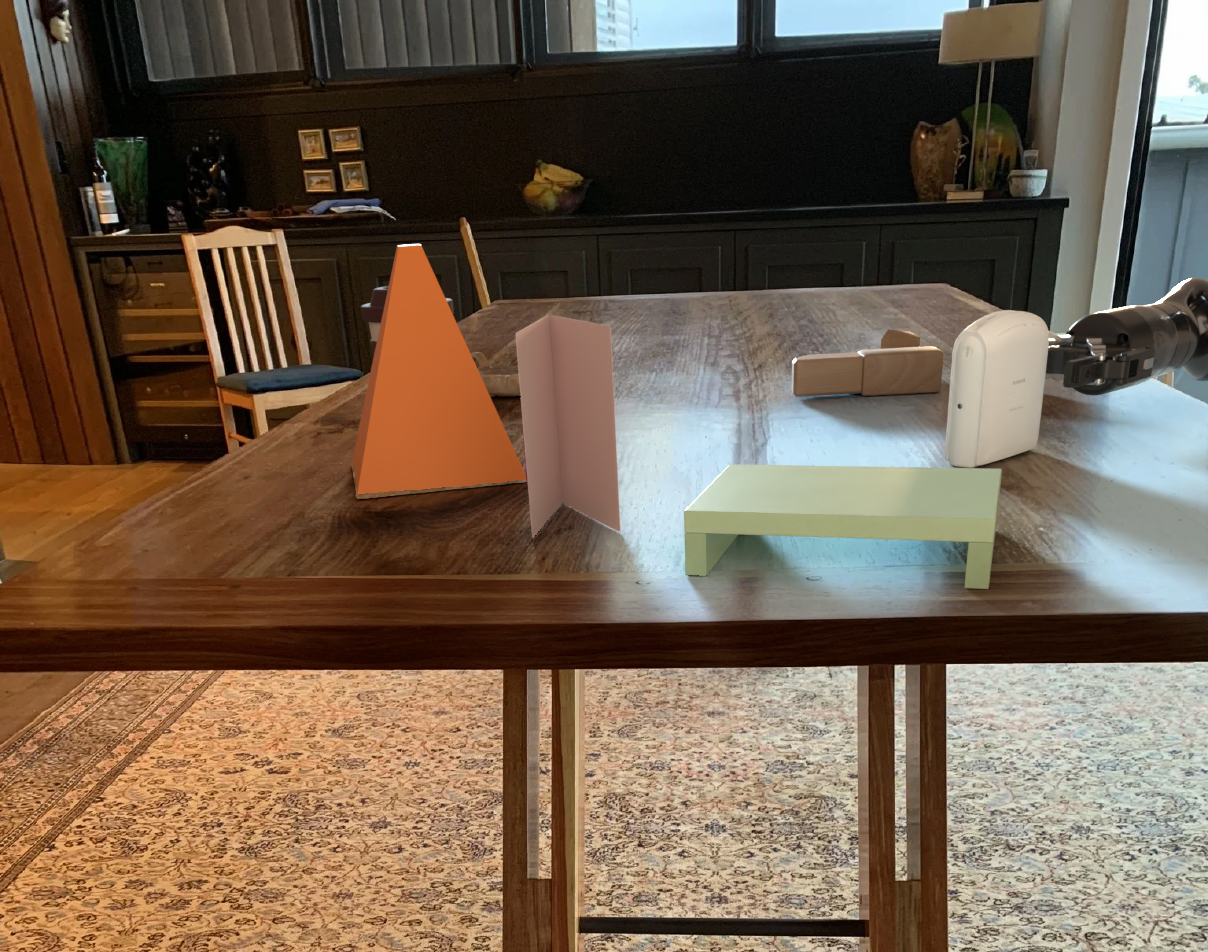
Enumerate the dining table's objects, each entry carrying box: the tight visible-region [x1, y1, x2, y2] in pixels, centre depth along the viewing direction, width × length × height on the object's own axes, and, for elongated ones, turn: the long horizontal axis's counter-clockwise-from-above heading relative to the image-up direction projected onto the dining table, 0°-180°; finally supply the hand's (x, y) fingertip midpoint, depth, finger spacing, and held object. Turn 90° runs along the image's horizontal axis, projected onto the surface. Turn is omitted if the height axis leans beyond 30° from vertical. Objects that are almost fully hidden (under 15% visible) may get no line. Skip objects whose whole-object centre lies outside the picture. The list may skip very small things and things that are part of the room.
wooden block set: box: [791, 329, 945, 398], centre depth 145 cm, size 17×6×18 cm
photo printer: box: [944, 309, 1050, 468], centre depth 106 cm, size 10×4×12 cm, turn 130°
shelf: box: [683, 464, 1003, 590], centre depth 84 cm, size 20×14×4 cm
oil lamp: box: [470, 351, 521, 397], centre depth 153 cm, size 13×8×5 cm, turn 43°
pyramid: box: [352, 243, 527, 494], centre depth 110 cm, size 16×16×20 cm
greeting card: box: [514, 314, 621, 539], centre depth 93 cm, size 11×7×15 cm, turn 170°
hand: (1024, 371), depth 108 cm, fingers open, 8 cm apart
